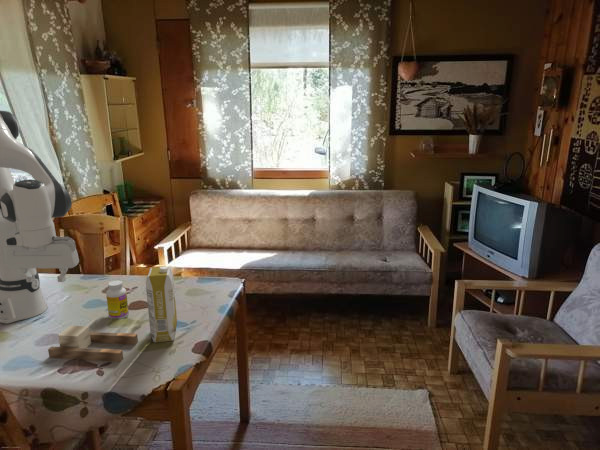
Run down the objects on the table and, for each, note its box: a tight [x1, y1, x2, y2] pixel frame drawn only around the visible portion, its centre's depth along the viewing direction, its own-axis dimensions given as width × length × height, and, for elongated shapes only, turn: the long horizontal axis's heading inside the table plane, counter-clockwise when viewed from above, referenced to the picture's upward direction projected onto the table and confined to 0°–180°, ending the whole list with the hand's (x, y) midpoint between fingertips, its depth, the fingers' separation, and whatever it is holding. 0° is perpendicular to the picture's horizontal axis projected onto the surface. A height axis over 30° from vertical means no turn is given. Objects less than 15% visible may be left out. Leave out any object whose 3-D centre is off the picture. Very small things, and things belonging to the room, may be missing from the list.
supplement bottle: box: [105, 280, 129, 319], centre depth 155 cm, size 7×7×13 cm
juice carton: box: [145, 265, 178, 343], centre depth 139 cm, size 9×8×24 cm
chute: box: [47, 331, 139, 363], centre depth 132 cm, size 22×11×4 cm, turn 84°
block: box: [58, 325, 92, 349], centre depth 132 cm, size 6×6×6 cm
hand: (46, 281), depth 129 cm, fingers open, 8 cm apart
